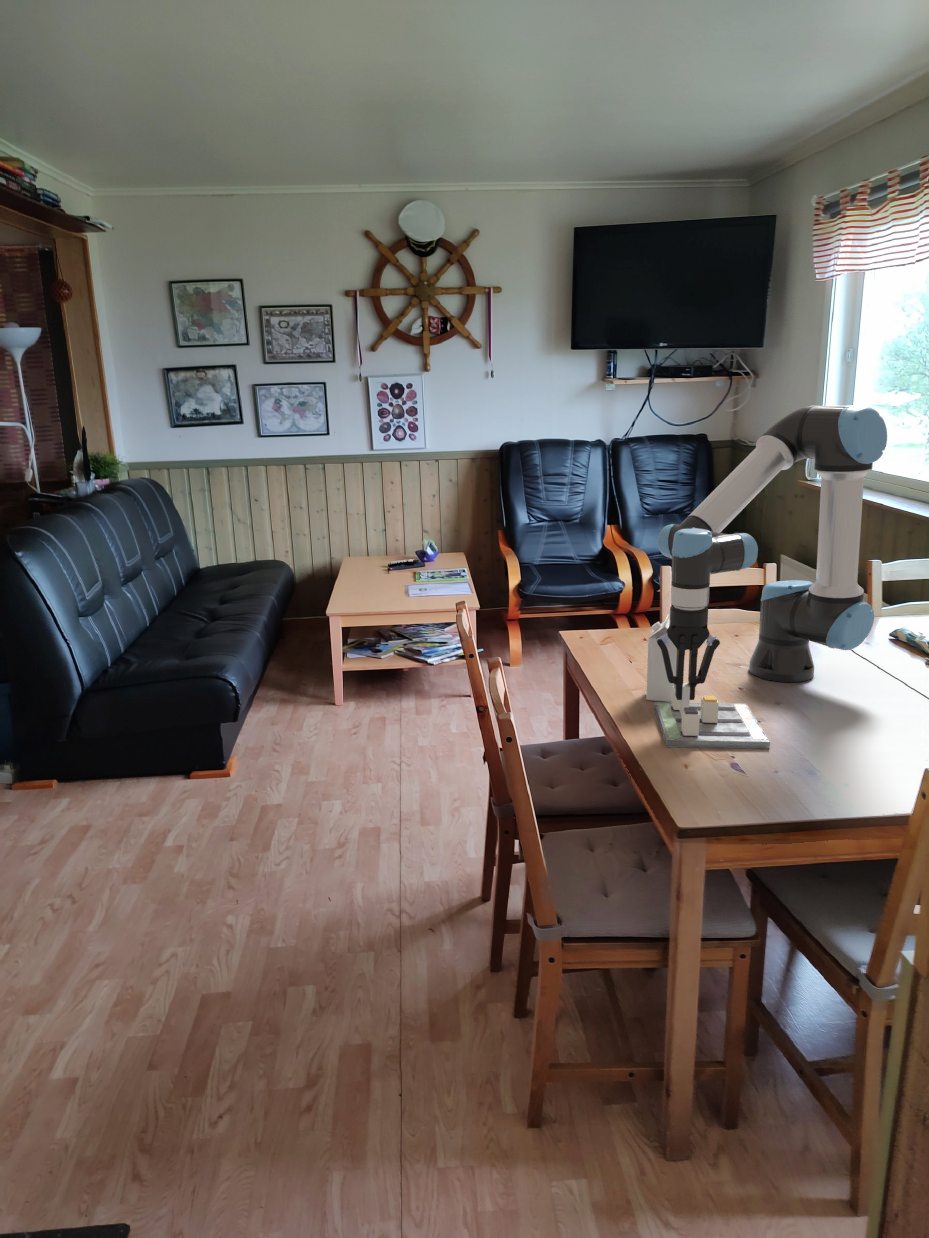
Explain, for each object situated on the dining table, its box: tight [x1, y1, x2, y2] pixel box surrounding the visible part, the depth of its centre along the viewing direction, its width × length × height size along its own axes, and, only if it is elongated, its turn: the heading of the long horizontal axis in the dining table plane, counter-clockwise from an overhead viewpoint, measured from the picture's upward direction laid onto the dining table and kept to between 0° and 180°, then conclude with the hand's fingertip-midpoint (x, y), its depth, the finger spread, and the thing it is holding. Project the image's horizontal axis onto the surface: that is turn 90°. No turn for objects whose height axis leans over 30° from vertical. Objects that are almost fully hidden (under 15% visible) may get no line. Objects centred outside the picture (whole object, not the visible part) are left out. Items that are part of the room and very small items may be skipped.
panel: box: [654, 701, 771, 750], centre depth 180 cm, size 20×21×2 cm
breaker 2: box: [681, 707, 700, 736], centre depth 173 cm, size 3×3×5 cm
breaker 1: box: [672, 684, 680, 710], centre depth 186 cm, size 3×3×5 cm
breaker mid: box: [700, 695, 720, 723], centre depth 179 cm, size 3×3×5 cm
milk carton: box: [645, 613, 677, 702], centre depth 196 cm, size 7×7×19 cm
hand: (684, 713), depth 180 cm, fingers closed
